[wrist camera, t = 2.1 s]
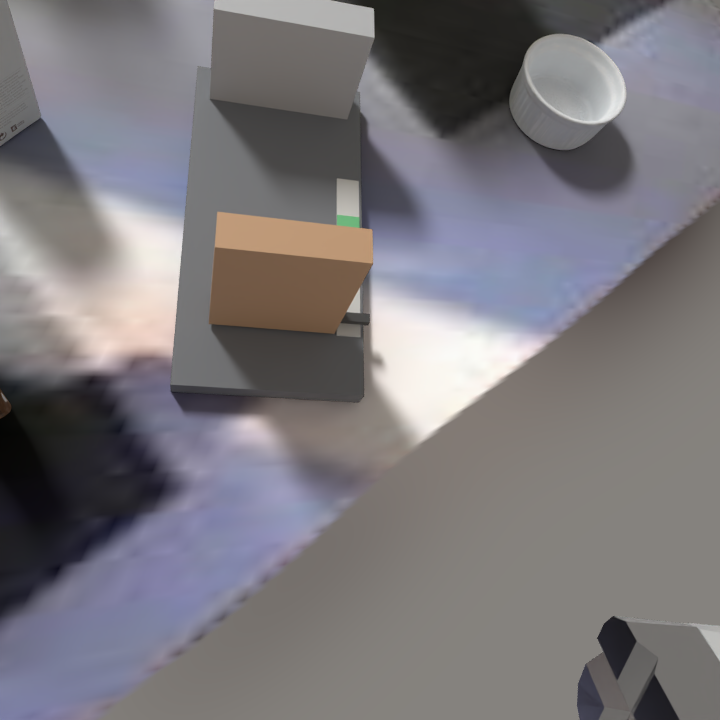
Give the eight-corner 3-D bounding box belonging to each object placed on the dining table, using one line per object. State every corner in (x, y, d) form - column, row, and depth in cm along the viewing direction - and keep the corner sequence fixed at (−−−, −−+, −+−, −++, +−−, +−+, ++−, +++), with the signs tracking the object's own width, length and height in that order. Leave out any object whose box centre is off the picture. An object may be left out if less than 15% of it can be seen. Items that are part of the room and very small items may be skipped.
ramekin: (483, 81, 57) (505, 42, 53) (565, 62, 60) (592, 24, 56) (533, 168, 56) (560, 135, 52) (615, 144, 59) (646, 110, 55)
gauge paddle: (367, 336, 45) (413, 267, 36) (208, 323, 43) (214, 247, 33) (366, 308, 46) (412, 233, 36) (210, 294, 43) (217, 211, 34)
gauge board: (358, 402, 45) (399, 353, 36) (170, 391, 42) (166, 336, 34) (355, 105, 53) (388, 7, 45) (197, 80, 51) (199, -29, 42)
